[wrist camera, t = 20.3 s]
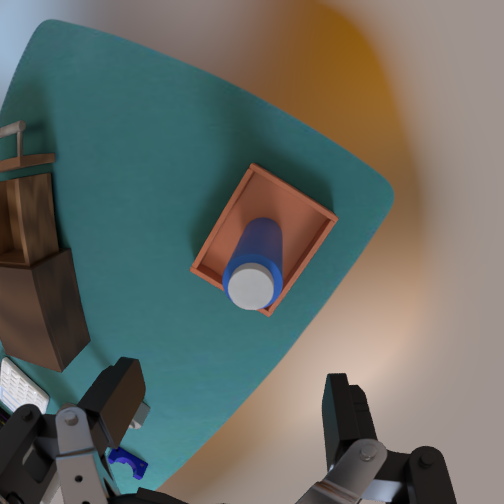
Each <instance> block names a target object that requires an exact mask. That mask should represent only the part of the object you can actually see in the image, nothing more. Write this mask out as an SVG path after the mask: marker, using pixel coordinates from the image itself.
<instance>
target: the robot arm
mask: <svg viewBox="0 0 504 504" xmlns="http://www.w3.org/2000/svg"><path fill="white" fill-rule="evenodd" d="M145 391H146V387H145V382H144V378H143V374H142V370H141V366H140V362H139V360H138V359H134V358H128V357H121V358H120V359H119V360H118V361H117V363H116V364H115V365H114V366H109V367H108V368H106V369H105V370H103V371H102V372H101V373H100V374H99V376H98V377H97V378H96V380H95V381H94V382H93V384H92V386H91V387H90V388H89V389H88V391H87V392H86V393H85V395H84V396H83V397H82V399H81V400H80V401H79V403H78V404H77V406H76V407H67V408H64V409H62V410H61V411H60V412H59V413H58V414H57V415H52V414H42V413H41V411H40V409H39V407H38V406H36V405H34V404H24V405H21V406H20V407H18V408H17V409H16V410H15V412H14V413H13V414H12V416H11V417H10V418H9V419H8V421H7V422H6V423H5V425H4V426H3V427H2V429H1V430H0V504H40V502H41V500H42V498H43V496H44V494H45V492H46V490H47V488H48V486H49V484H50V482H51V480H52V479H53V477H54V475H55V473H56V471H57V470H58V476H59V481H60V486H61V491H62V496H63V500H64V504H188V503H185V502H183V501H181V500H178V499H176V498H174V497H172V496H169V495H167V494H165V493H161V492H156V491H152V490H148V489H144V488H141V487H139V488H138V491H137V493H132V494H122V495H121V493H120V491H119V489H118V487H117V484H116V482H115V479H114V476H113V473H112V470H111V467H110V464H109V461H108V458H107V455H106V453H105V450H106V449H107V447H111V448H114V449H117V448H118V446H119V444H120V442H121V440H122V438H123V437H124V435H125V433H126V431H127V429H128V427H129V425H130V423H131V421H132V419H133V417H134V415H135V414H136V412H137V410H138V408H139V406H140V404H141V402H142V400H143V398H144V396H145ZM322 418H323V428H324V438H325V448H326V460H327V471H328V474H327V475H326V476H325V478H324V479H323V480H322V481H320V482H316V483H315V484H314V485H313V486H312V487H311V488H310V489H309V490H308V491H307V492H306V493H305V494H304V495H303V496H302V497H301V498H300V499H299V500H298V501H297V502H296V503H295V504H359V503H360V502H361V500H362V499H367V500H374V501H382V502H386V504H457V502H456V498H455V494H454V491H453V487H452V484H451V480H450V477H449V473H448V470H447V466H446V463H445V460H444V457H443V455H442V453H441V452H440V451H439V450H437V449H436V448H434V447H430V446H422V447H419V448H416V449H415V450H414V451H412V453H411V454H405V453H398V452H393V451H389V450H387V449H386V447H385V446H384V445H383V444H382V443H381V442H379V441H378V439H377V436H376V433H375V428H374V424H373V421H372V417H371V413H370V412H369V406H368V404H367V399H366V395H365V393H364V391H363V390H362V389H361V388H360V387H359V386H358V385H349V383H348V380H347V375H346V374H345V373H339V374H338V373H334V374H333V373H332V374H328V375H327V378H326V384H325V389H324V395H323V400H322ZM31 446H32V448H33V450H32V451H31V453H30V454H29V456H28V458H27V459H26V461H25V463H24V464H23V458H24V456H25V455H26V453H27V451H28V450H29V448H30V447H31ZM223 504H224V503H223Z"/></svg>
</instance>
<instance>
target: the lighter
mask: <svg viewBox="0 0 504 504" xmlns="http://www.w3.org/2000/svg"><path fill="white" fill-rule="evenodd" d="M149 410H150V407H148V406H147V405H145V404H144V403H143V402H141V404H140V406H139V408H138V410H137V412H136V414H135V415H134V417H133V419H132V421H131V423H130V425H129V427H128V428H136V429H139V428H140V427H142V425H143V423H144V421H145V419H146V416H147V414H148V412H149Z"/></svg>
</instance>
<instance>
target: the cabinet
mask: <svg viewBox="0 0 504 504" xmlns="http://www.w3.org/2000/svg"><path fill="white" fill-rule="evenodd" d="M0 339H1V342H2V345H3V347H4V350H5V352H6V354H8V355H10V356H13V357H16V358H18V359H21V360H24V361H27V362H30V363H33V364H36V365H39V366H42V367H45V368H48V369H51V370H55V371H58V372H61V373H62V372H63V370H64V369H65V368H66V367H67V366H68V365H69V364H70V363H71V362H72V360H73V359H74V358H75V357H76V356H77V355H78V354H79V353H80V352H81V351H82V350H83V348H84V347H85V346H86V345H87V344H88V343H89V342H90V341H91V340H90V337H89V333H88V329H87V325H86V321H85V317H84V313H83V309H82V304H81V300H80V295H79V291H78V286H77V281H76V276H75V270H74V265H73V259H72V253H71V248H59V253H57V254H55V255H53V256H51V257H49V258H47V259H46V260H44V261H42V262H40V263H38V264H36V265H35V266H33V267H20V266H9V265H0Z"/></svg>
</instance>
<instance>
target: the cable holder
mask: <svg viewBox="0 0 504 504" xmlns="http://www.w3.org/2000/svg"><path fill="white" fill-rule="evenodd" d="M107 458H108V461H109V463H110V464H112V463H113V462H121V463H123V464H124V463H126V462H127V463H128V464H129V465H130V466H131V467H132V469H133V477H135V478H136V479H138V480H140V479H141V478H143V475H144V473H145V471H146V468H147V466H148V463H146V462H144V461H142V460H140V459H139V458H137V457H135V456H134V455H132V454H130V453H129V452H127V451H125V450H124V449H122V448H120V447H119V446H118V448H117V449H114V448H111V449H110V451H109V453H108V454H107Z"/></svg>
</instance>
